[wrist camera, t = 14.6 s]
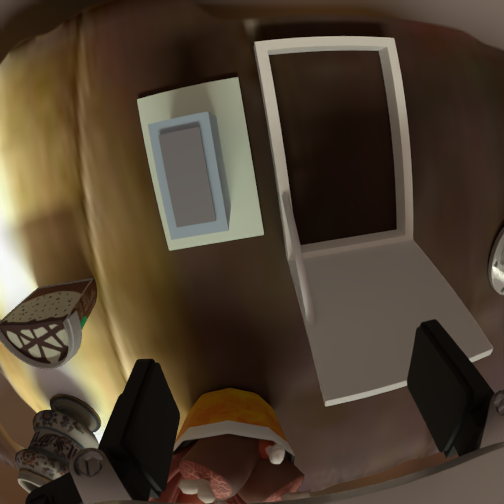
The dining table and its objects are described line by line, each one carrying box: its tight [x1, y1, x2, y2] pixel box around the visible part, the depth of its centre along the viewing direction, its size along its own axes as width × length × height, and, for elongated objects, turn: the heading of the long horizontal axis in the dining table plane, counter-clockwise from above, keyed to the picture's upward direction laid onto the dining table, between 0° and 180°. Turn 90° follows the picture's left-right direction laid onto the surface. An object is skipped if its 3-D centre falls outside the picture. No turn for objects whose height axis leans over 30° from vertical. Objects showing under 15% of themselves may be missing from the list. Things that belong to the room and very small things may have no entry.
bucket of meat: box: [148, 388, 310, 504], centre depth 34 cm, size 20×16×20 cm
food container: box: [0, 278, 97, 369], centre depth 31 cm, size 12×6×10 cm, turn 99°
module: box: [148, 112, 231, 240], centre depth 26 cm, size 4×9×8 cm, turn 8°
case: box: [254, 36, 493, 406], centre depth 23 cm, size 14×26×18 cm, turn 9°
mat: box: [137, 77, 264, 251], centre depth 31 cm, size 10×16×1 cm, turn 9°
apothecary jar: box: [15, 394, 101, 493], centre depth 36 cm, size 12×12×18 cm
